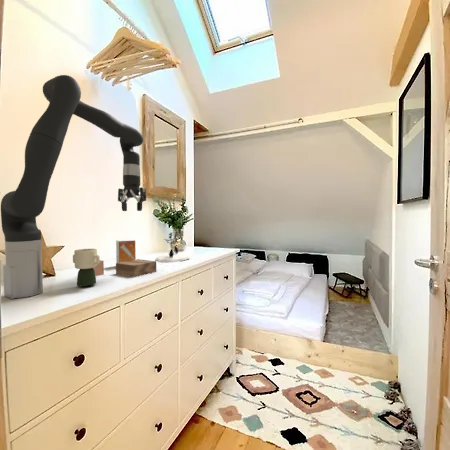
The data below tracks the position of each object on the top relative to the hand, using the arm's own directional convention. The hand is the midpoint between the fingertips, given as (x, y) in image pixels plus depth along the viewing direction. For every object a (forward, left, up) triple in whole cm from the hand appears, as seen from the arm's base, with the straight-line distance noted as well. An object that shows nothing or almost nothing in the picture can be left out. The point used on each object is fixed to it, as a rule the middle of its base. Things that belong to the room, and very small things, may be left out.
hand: (131, 211), depth 119 cm
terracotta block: (-14, +7, -27) cm, 32 cm away
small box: (+6, +13, -28) cm, 31 cm away
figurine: (+33, +7, -28) cm, 43 cm away
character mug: (-26, -8, -28) cm, 39 cm away
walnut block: (-2, -5, -28) cm, 28 cm away
